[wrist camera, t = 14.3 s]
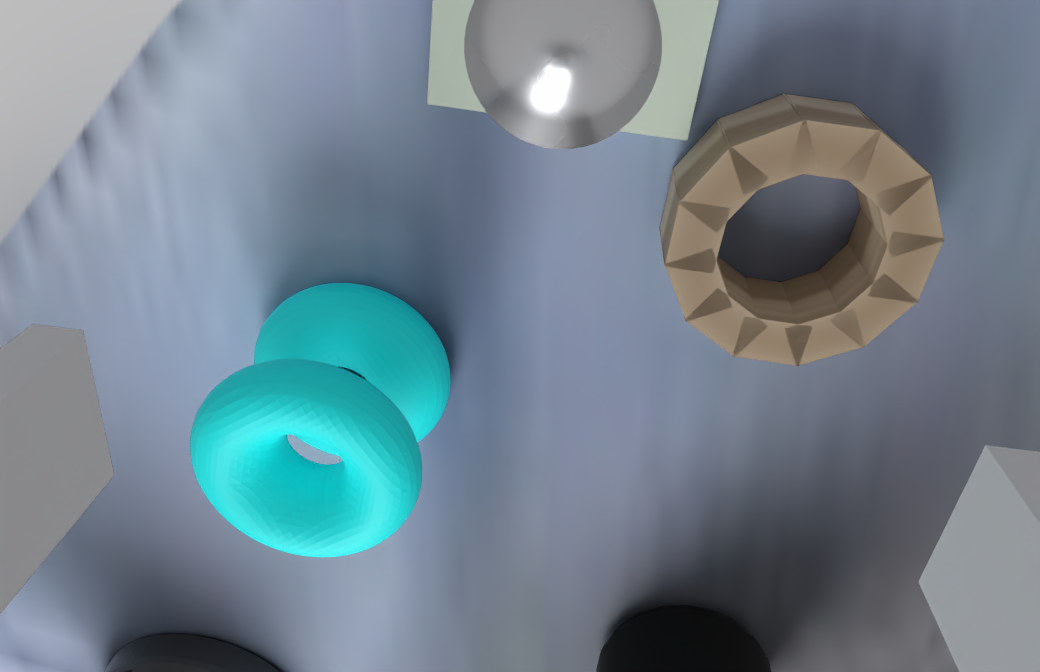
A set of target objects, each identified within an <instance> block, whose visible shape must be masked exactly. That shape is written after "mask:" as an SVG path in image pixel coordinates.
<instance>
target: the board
mask: <svg viewBox="0 0 1040 672" xmlns="http://www.w3.org/2000/svg"><path fill="white" fill-rule="evenodd" d="M653 1H654V4H655V7H656V10H657V14H658V17H659V21H660V26H661V34H662V56H661V64H660V68H659V72H658V76H657V79H656V82H655V84H654V87H653V89H652V92H651V93H650V95H649V97H648V99H647V101H646V102H645V104H644V105H643V107H642V108H641V109H640V111H639V112H638V113H637V114H636V115H635V117H634V118H633V119H632V120H631V121H630V122H629V123H628V124H626V125H625V126H624V127H623V128H622V129H620V130H619V131H622V132H629V133H636V134H643V135H650V136H657V137H664V138H671V139H678V140H685V141H687V140H688V135H689V131H690V126H691V122H692V118H693V113H694V109H695V104H696V100H697V95H698V91H699V87H700V82H701V78H702V73H703V69H704V64H705V60H706V56H707V51H708V47H709V42H710V38H711V33H712V29H713V25H714V20H715V16H716V11H717V7H718V2H719V0H653ZM473 3H474V0H433V3H432V22H431V41H430V60H429V79H428V99H427V104H430V105H437V106H444V107H451V108H458V109H466V110H473V111H480V112H486V110H485V109H484V108H483V106H482V105H481V103H480V102H479V100H478V98H477V96H476V94H475V93H474V91H473V88H472V85H471V83H470V80H469V77H468V73H467V69H466V63H465V55H464V38H465V30H466V24H467V20H468V17H469V13H470V10H471V8H472V5H473Z"/></svg>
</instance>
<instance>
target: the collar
mask: <svg viewBox="0 0 1040 672" xmlns="http://www.w3.org/2000/svg"><path fill="white" fill-rule="evenodd" d="M801 174H808V175H815V176H822V177H829V178H836V179H843V180H848V181H849V182H851V183H852V184H853V185H854V186H855V188H856V192H857V196H858V200H859V204H860V211H859V214H858V216H857V219H856V222H855V225H854V228H853V230H852V233H851V236H850V239H849V242H848V244H847V245H846V246H845V247H844V248H842V249H841V250H840V251H839V252H838V253H837V254H836V255H835V256H834V257H833V258H832V259H830V260H829V261H828V262H827V263H826V264H825V265H824V266H823V267H822V268H821V269H820V270H818V271H815V272H812V273H809V274H806V275H803V276H799V277H796V278H793V279H790V280H787V281H783V282H776V281H769V280H762V279H755V278H748V277H744V276H743V275H741V274H740V273H739V272H737V271H736V270H735V269H734V268H732V267H731V266H730V265H728V264H727V263H726V262H725V261H723V260H722V259H721V258H719V257H718V252H719V249H720V245H721V241H722V237H723V234H724V230H725V226H726V222H727V221H728V220H729V219H730V218H731V217H732V216H733V215H734V214H735V213H736V212H737V211H738V210H739V209H740V208H741V207H742V206H743V205H744V204H745V202H746V201H747V200H748V199H749V198H750V197H751V196H752V195H753V194H754V193H755V192H756V191H757V190H758V189H761V188H764V187H767V186H770V185H772V184H775V183H778V182H781V181H784V180H787V179H790V178H792V177H795V176H798V175H801ZM660 236H661V243H662V251H663V258H664V265H665V267H666V269H667V272H668V275H669V277H670V280H671V283H672V285H673V288H674V291H675V293H676V296H677V299H678V301H679V304H680V307H681V309H682V312H683V315H684V319H685V320H686V322H688V323H690V324H691V325H692V326H694V327H695V328H696V329H698V330H699V331H700V332H702V333H703V334H704V335H706V336H707V337H708V338H710V339H711V340H712V341H714V342H715V343H717V344H718V345H719V346H721V347H722V348H723V349H725V350H726V351H727V352H729V353H730V354H731V355H732V356H734V357H742V358H749V359H756V360H762V361H769V362H776V363H783V364H789V365H796V366H799V365H802V364H805V363H809V362H812V361H816V360H819V359H823V358H826V357H830V356H833V355H837V354H840V353H844V352H847V351H851V350H854V349H858V348H861V347H862V348H863V347H865V345H866V344H868V343H869V342H870V341H871V340H872V339H874V338H875V337H876V336H877V335H878V334H880V333H881V332H882V331H883V330H885V329H886V328H887V327H888V326H889V325H891V324H892V323H893V322H894V321H895V320H897V319H898V318H899V317H900V316H901V315H903V314H904V313H905V312H906V311H907V310H909V309H910V308H911V307H912V306H913V305H915V304H916V303H917V302H918V300H919V297H920V295H921V293H922V290H923V288H924V286H925V283H926V281H927V278H928V276H929V274H930V271H931V269H932V267H933V264H934V262H935V260H936V257H937V255H938V253H939V250H940V248H941V245H942V243H943V241H944V238H943V233H942V228H941V222H940V217H939V212H938V207H937V202H936V197H935V191H934V186H933V181H932V176H931V174H930V173H929V172H928V171H927V170H926V169H925V168H924V167H923V166H922V165H921V164H920V163H918V162H917V161H916V160H915V159H914V158H913V157H912V156H911V155H910V154H909V153H908V152H907V151H906V150H905V149H904V148H903V147H902V146H900V145H899V144H898V143H896V142H895V141H894V140H893V139H892V138H890V137H889V136H888V135H887V134H886V133H885V132H884V131H883V130H881V129H880V128H879V127H878V126H877V125H876V124H875V123H874V122H872V121H871V120H870V119H869V118H868V117H867V116H866V115H865V114H864V113H863V112H862V111H861V110H859V109H858V108H857V107H856V106H855V105H854V104H853V103H847V102H840V101H832V100H825V99H818V98H811V97H804V96H796V95H789V94H786V93H785V94H782V95H780V96H777V97H774V98H772V99H769V100H766V101H764V102H761V103H759V104H756V105H753V106H751V107H748V108H745V109H743V110H740V111H738V112H735V113H732V114H730V115H727V116H725V117H722V118H718V119H717V120H716V122H715V123H714V124H713V125H712V126H711V127H710V128H709V129H708V130H707V132H706V133H705V134H704V135H703V136H702V137H701V138H700V139H699V141H698V142H697V143H696V144H695V145H694V146H693V147H692V148H691V149H690V151H689V152H688V153H687V154H686V155H685V156H684V157H683V158H682V160H681V161H680V162H679V163H678V164H677V165H676V166H675V167H674V168H673V170H672V175H671V179H670V184H669V189H668V193H667V198H666V202H665V207H664V211H663V216H662V220H661V225H660Z"/></svg>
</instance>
